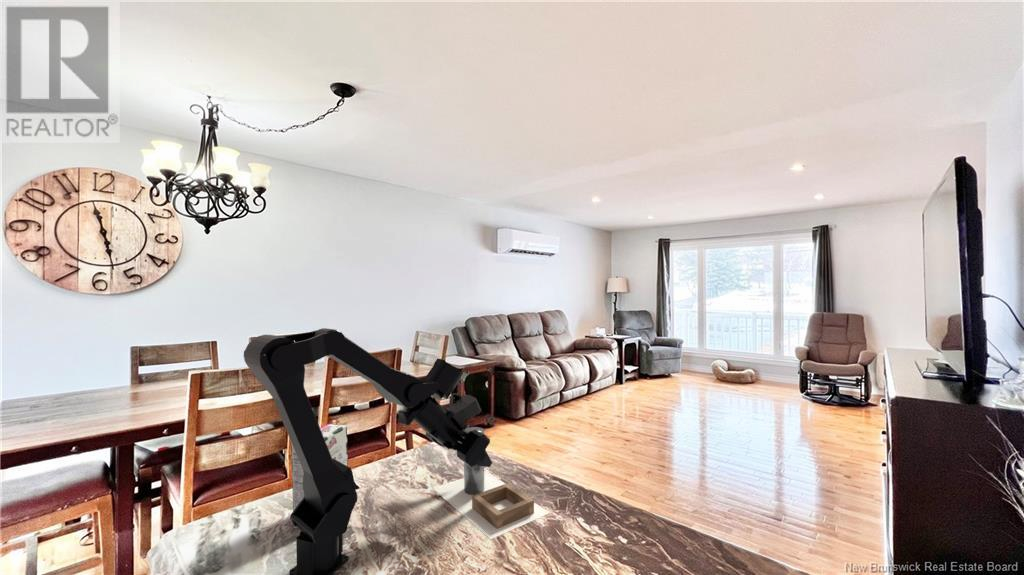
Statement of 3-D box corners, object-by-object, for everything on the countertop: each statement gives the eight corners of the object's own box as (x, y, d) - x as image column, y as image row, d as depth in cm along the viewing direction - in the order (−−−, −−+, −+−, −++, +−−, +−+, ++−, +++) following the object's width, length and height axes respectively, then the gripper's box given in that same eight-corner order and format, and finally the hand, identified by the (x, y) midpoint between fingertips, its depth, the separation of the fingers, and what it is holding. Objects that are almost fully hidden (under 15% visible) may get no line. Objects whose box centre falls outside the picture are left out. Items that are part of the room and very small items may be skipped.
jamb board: (549, 517, 81) (549, 512, 81) (490, 544, 73) (490, 539, 73) (485, 474, 100) (485, 470, 100) (432, 492, 91) (432, 488, 91)
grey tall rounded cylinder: (479, 496, 88) (478, 435, 87) (460, 492, 89) (460, 432, 89) (487, 486, 92) (487, 428, 92) (469, 483, 93) (469, 426, 93)
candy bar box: (328, 499, 89) (327, 422, 89) (349, 501, 88) (348, 424, 88) (290, 529, 78) (289, 442, 78) (314, 532, 77) (313, 444, 77)
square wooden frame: (534, 513, 81) (533, 500, 81) (497, 529, 76) (497, 515, 76) (507, 494, 88) (507, 483, 88) (472, 508, 83) (472, 495, 83)
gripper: (481, 395, 80) (526, 438, 87) (437, 377, 95) (478, 416, 102) (445, 445, 76) (495, 487, 82) (405, 418, 91) (450, 456, 97)
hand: (479, 457), depth 91 cm, fingers open, 9 cm apart
